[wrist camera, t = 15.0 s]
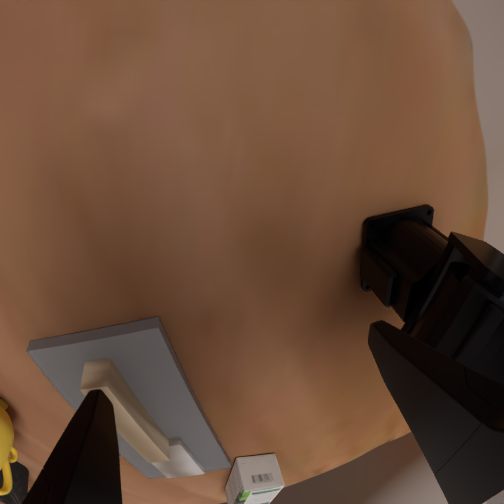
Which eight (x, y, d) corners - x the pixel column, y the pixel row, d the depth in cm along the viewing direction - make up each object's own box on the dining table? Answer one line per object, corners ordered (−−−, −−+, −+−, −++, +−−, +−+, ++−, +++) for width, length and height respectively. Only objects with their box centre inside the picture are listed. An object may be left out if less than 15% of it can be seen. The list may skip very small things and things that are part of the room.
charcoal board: (158, 316, 23) (158, 327, 22) (230, 459, 37) (232, 467, 36) (30, 341, 21) (26, 351, 20) (148, 471, 36) (149, 478, 35)
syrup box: (286, 485, 34) (264, 513, 40) (275, 450, 39) (256, 485, 45) (243, 492, 32) (230, 517, 39) (235, 455, 37) (223, 488, 44)
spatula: (125, 355, 22) (123, 384, 20) (203, 467, 35) (206, 485, 33) (71, 364, 22) (66, 391, 20) (168, 472, 35) (169, 490, 32)
